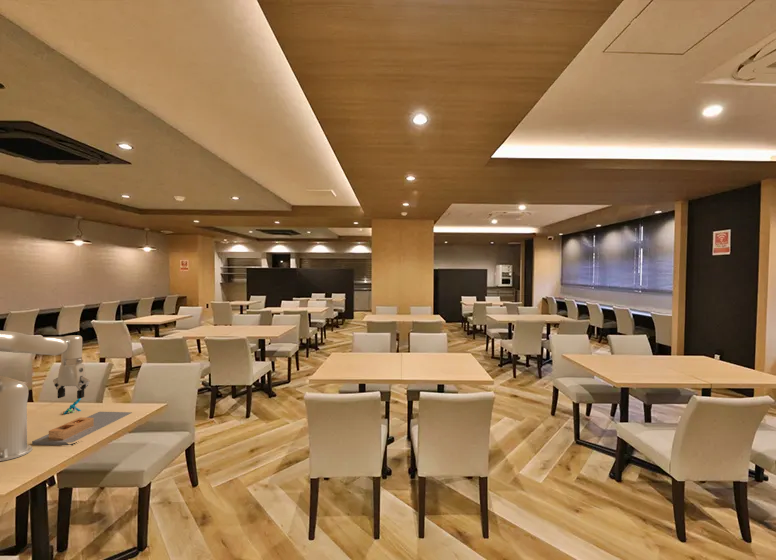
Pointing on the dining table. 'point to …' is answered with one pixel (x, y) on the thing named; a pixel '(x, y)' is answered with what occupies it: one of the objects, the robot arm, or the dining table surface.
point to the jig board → (99, 421)
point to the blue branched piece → (72, 407)
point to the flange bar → (71, 428)
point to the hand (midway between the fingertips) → (70, 397)
